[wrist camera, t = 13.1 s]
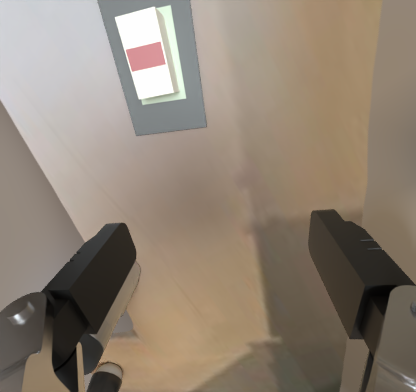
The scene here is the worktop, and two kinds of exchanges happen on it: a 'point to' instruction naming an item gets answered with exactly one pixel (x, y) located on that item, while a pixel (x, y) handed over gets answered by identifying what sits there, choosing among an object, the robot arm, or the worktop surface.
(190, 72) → the mat
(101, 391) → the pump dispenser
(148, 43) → the card deck
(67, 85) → the worktop surface
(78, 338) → the robot arm
